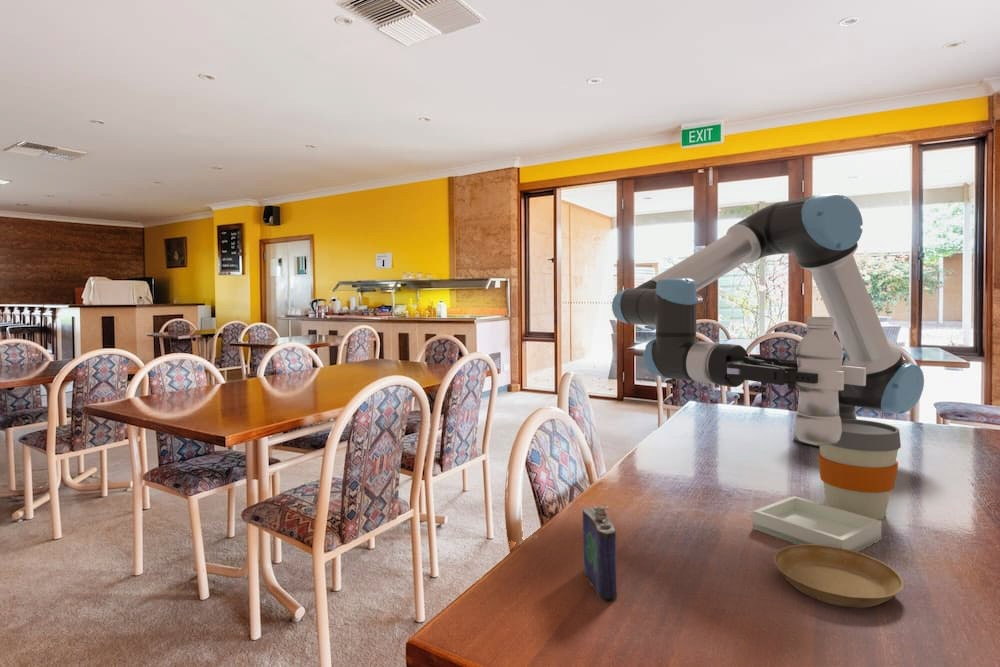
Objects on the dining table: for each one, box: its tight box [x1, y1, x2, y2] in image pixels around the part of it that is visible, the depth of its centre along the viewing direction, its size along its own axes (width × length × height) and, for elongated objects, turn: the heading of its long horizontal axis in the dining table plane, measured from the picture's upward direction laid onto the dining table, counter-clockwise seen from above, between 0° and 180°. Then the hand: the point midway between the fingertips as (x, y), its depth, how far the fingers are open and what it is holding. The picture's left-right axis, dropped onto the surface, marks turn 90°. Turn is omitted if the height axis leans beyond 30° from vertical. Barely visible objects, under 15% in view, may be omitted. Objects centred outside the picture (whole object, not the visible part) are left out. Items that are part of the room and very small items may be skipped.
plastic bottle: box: [793, 316, 844, 446], centre depth 92 cm, size 6×7×20 cm
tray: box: [752, 495, 883, 553], centre depth 94 cm, size 12×14×3 cm
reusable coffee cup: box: [817, 419, 902, 520], centre depth 103 cm, size 13×13×15 cm
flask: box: [582, 505, 618, 603], centre depth 78 cm, size 9×3×11 cm, turn 8°
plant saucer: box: [773, 544, 904, 609], centre depth 78 cm, size 15×15×3 cm
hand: (853, 378), depth 88 cm, fingers closed on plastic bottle, 6 cm apart
